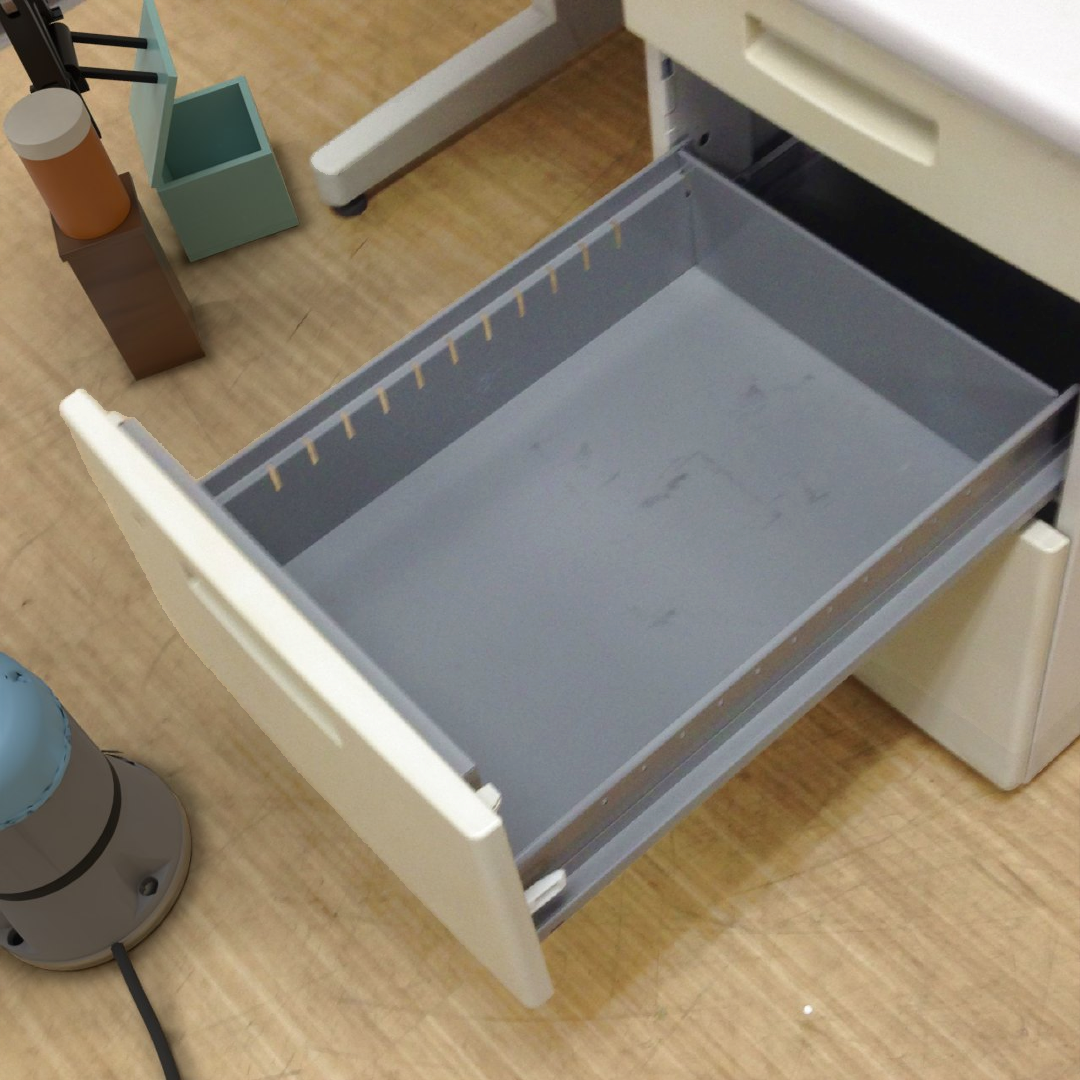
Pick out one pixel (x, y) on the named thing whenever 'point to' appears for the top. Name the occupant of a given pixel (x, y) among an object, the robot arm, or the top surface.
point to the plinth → (135, 291)
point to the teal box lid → (133, 80)
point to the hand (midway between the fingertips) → (80, 116)
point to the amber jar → (67, 162)
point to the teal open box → (222, 172)
